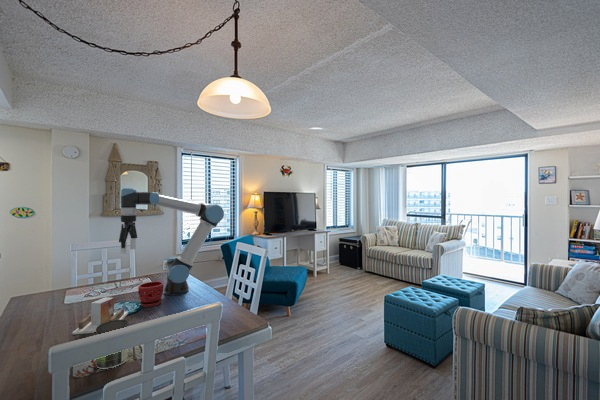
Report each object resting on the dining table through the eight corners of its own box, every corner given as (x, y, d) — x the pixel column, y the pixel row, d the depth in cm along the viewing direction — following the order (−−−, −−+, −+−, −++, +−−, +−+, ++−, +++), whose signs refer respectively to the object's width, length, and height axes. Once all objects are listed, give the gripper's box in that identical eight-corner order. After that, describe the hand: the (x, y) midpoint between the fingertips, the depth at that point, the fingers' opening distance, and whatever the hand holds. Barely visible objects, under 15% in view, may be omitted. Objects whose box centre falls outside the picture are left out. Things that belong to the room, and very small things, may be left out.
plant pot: (168, 301, 167) (168, 281, 167) (150, 309, 154) (150, 288, 154) (151, 298, 171) (151, 279, 171) (132, 306, 159) (132, 286, 158)
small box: (100, 325, 134) (100, 303, 133) (90, 324, 135) (90, 302, 134) (114, 318, 141) (114, 297, 141) (105, 317, 142) (105, 296, 142)
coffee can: (108, 372, 99) (108, 334, 99) (89, 366, 103) (89, 328, 103) (134, 357, 109) (134, 321, 109) (116, 351, 112) (116, 317, 112)
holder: (94, 316, 146) (94, 308, 146) (128, 313, 149) (128, 306, 149) (72, 334, 126) (72, 325, 126) (111, 331, 130) (111, 322, 130)
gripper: (129, 213, 171) (129, 247, 171) (111, 216, 147) (111, 256, 147) (142, 213, 173) (142, 247, 173) (127, 216, 148) (127, 255, 148)
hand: (128, 251), depth 160 cm, fingers open, 13 cm apart
